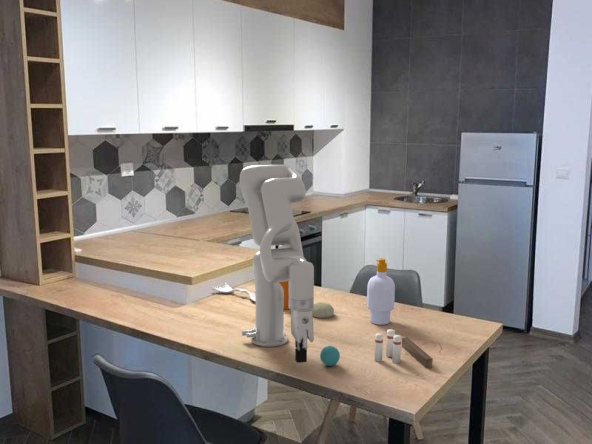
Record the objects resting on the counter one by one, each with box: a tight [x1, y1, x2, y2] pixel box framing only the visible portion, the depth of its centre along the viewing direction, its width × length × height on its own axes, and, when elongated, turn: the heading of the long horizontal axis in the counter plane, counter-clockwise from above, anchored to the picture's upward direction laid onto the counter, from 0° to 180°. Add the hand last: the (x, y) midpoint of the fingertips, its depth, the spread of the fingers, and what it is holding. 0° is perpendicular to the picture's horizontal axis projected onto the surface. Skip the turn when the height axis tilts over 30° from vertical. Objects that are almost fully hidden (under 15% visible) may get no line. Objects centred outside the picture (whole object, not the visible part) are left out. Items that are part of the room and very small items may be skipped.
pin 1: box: [385, 329, 396, 358], centre depth 189 cm, size 2×2×8 cm
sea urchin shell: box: [312, 302, 335, 319], centre depth 228 cm, size 9×8×8 cm
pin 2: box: [391, 334, 402, 365], centre depth 185 cm, size 2×2×8 cm
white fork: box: [212, 282, 256, 303], centre depth 250 cm, size 9×32×4 cm, turn 54°
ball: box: [320, 345, 341, 367], centre depth 182 cm, size 6×6×6 cm
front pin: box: [374, 332, 384, 363], centre depth 186 cm, size 2×2×8 cm
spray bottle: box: [277, 245, 290, 311], centre depth 233 cm, size 7×11×26 cm, turn 159°
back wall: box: [401, 337, 434, 369], centre depth 190 cm, size 2×18×3 cm, turn 14°
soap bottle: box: [366, 258, 396, 326], centre depth 219 cm, size 10×10×24 cm
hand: (300, 361), depth 179 cm, fingers closed
